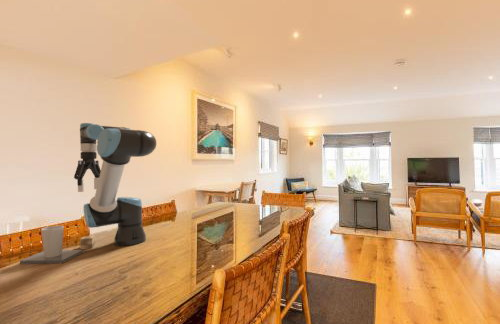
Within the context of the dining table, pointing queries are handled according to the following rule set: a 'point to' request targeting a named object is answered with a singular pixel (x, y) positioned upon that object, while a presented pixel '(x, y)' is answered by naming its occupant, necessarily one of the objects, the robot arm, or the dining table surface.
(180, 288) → the dining table surface
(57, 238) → the cup
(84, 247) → the oak cube
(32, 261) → the slate board
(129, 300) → the dining table surface
